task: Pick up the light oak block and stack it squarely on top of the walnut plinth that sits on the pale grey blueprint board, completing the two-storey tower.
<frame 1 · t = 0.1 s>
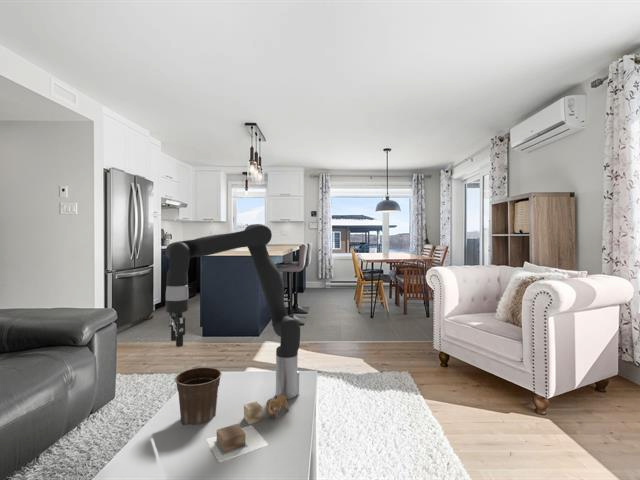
hand: (176, 343, 123), 29 cm above the table, fingers open, 8 cm apart
plant pot: (198, 419, 127), on the table
oak block: (252, 422, 125), on the table
blueprint board: (236, 445, 111), on the table
lion figurine: (277, 418, 129), on the table
walnut plinth: (230, 444, 110), resting on blueprint board
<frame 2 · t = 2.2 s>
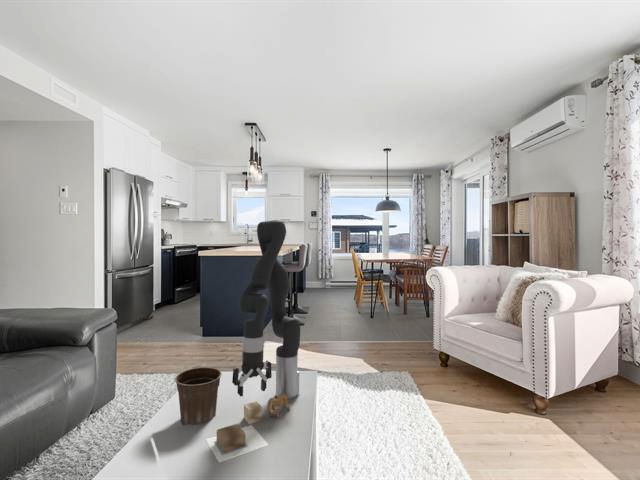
hand: (252, 393, 125), 11 cm above the table, fingers open, 8 cm apart
nothing on the table moved.
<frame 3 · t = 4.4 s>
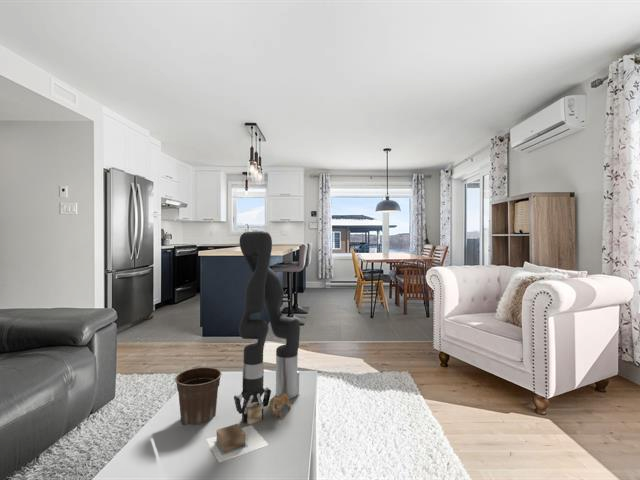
hand: (252, 420, 125), 1 cm above the table, fingers closed on oak block, 5 cm apart
oak block: (252, 422, 125), on the table, touching gripper
lion figurine: (280, 416, 130), on the table
everything else where it was.
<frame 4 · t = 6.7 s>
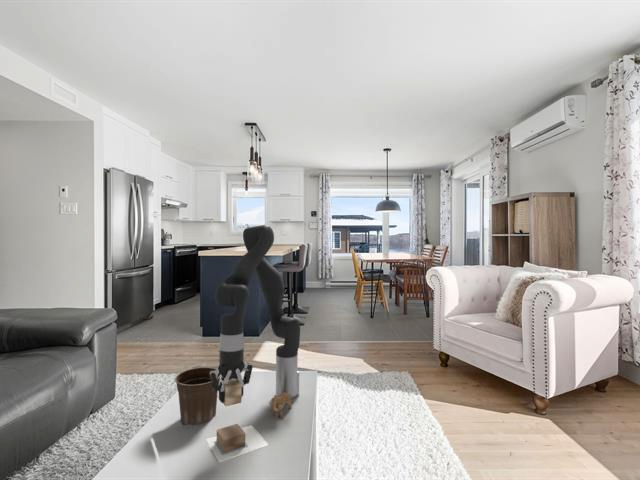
hand: (231, 399, 110), 15 cm above the table, fingers closed on oak block, 5 cm apart
oak block: (231, 401, 110), point 15 cm above the table, touching gripper
everything else where it was.
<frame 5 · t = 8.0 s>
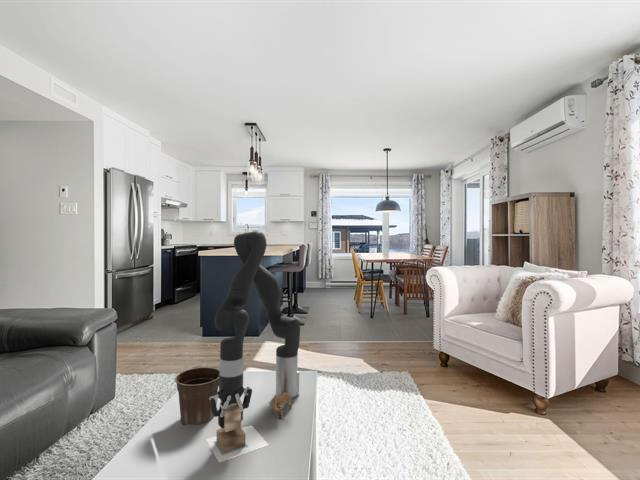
hand: (230, 424, 110), 7 cm above the table, fingers closed on oak block, 5 cm apart
oak block: (230, 426, 110), point 7 cm above the table, touching gripper
when the fingers open (6 cm above the table, at t = 9.1 s): oak block stays where it is, resting on walnut plinth.
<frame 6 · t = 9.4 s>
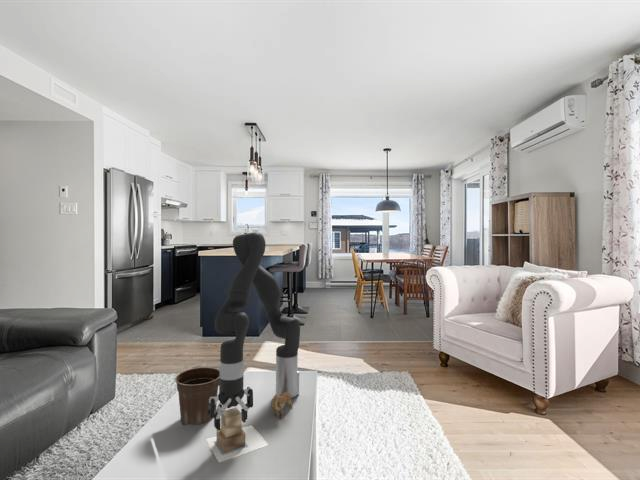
hand: (231, 425, 110), 7 cm above the table, fingers open, 8 cm apart
oak block: (231, 431, 110), point 5 cm above the table, touching walnut plinth
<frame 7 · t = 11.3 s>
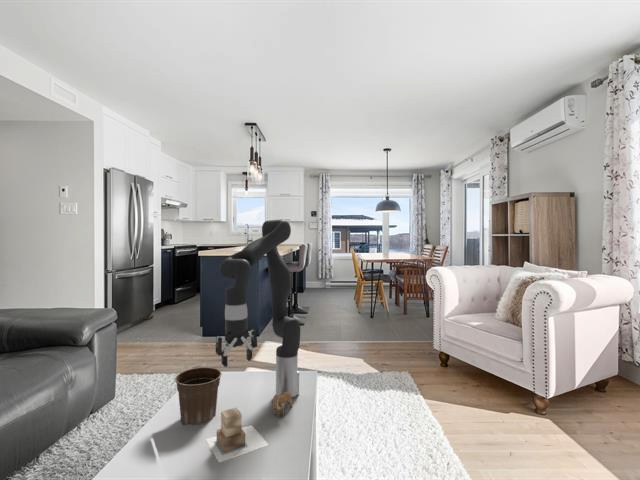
hand: (237, 363, 119), 24 cm above the table, fingers open, 8 cm apart
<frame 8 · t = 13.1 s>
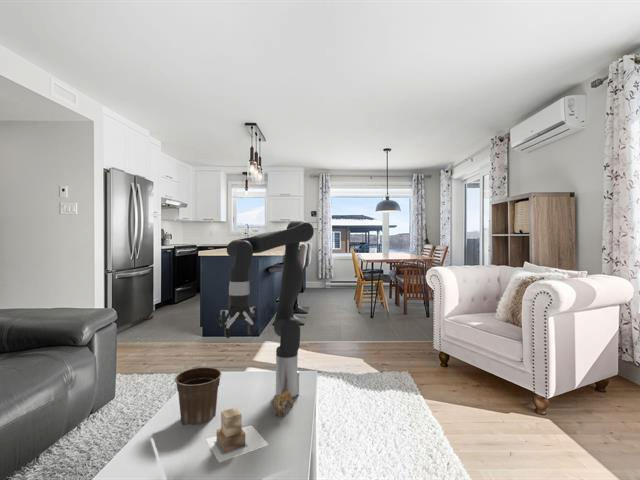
hand: (238, 336, 130), 30 cm above the table, fingers open, 8 cm apart
at the end: oak block 0.1 cm off-centre on the walnut plinth, point 4.0 cm above the walnut plinth's base; oak block tilted 0°; the gripper is holding nothing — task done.
